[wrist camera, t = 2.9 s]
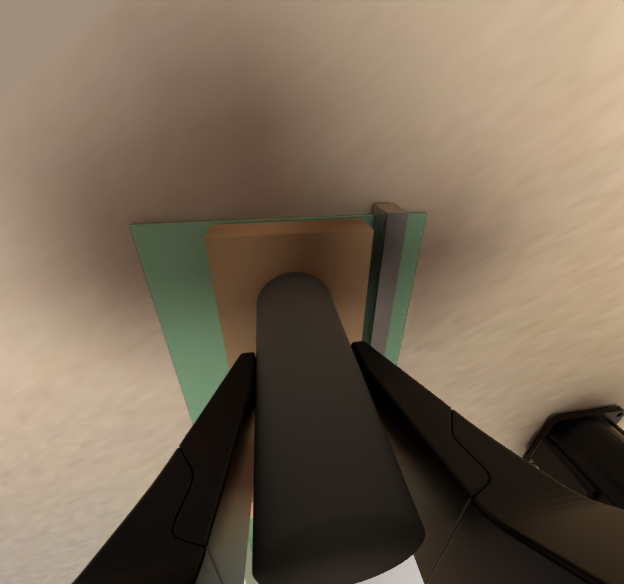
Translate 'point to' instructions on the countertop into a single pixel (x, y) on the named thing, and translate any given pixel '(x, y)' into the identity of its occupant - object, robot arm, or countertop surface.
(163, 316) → the mat
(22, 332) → the countertop surface
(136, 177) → the countertop surface
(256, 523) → the striker sled
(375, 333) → the guide rail
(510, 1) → the countertop surface
